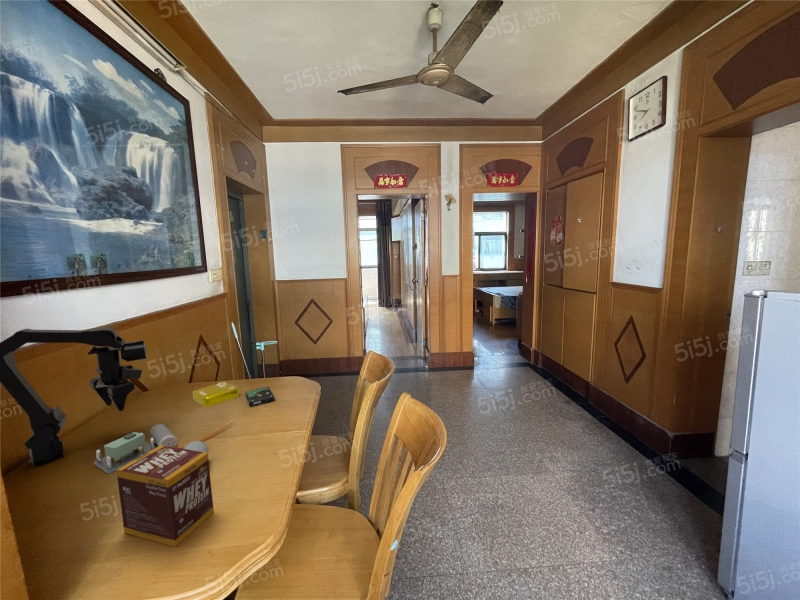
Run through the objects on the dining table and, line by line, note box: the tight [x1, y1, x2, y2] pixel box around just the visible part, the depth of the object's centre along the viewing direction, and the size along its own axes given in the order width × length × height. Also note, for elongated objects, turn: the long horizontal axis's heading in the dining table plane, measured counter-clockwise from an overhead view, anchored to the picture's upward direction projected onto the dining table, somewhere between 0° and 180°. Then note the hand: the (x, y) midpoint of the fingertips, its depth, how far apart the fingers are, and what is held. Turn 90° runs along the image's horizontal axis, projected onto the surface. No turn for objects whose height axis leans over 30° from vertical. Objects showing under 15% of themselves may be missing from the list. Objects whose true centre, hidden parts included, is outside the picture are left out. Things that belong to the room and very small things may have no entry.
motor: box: [149, 421, 235, 449], centre depth 119 cm, size 23×22×5 cm
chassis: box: [93, 432, 158, 475], centre depth 103 cm, size 13×10×4 cm
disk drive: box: [245, 386, 276, 408], centre depth 147 cm, size 10×3×15 cm
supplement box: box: [115, 445, 215, 548], centre depth 76 cm, size 10×15×16 cm
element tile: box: [192, 381, 240, 408], centre depth 149 cm, size 15×15×5 cm
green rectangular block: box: [103, 431, 147, 459], centre depth 103 cm, size 8×5×4 cm, turn 161°
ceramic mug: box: [183, 440, 209, 454], centre depth 96 cm, size 11×8×8 cm
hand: (115, 408), depth 113 cm, fingers open, 9 cm apart
